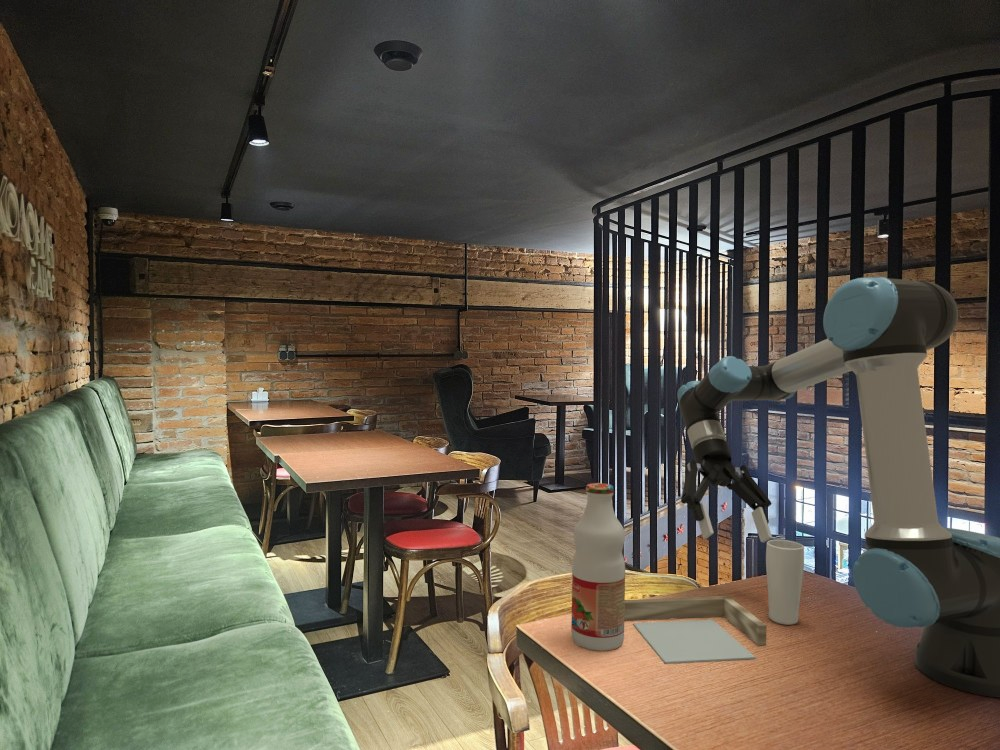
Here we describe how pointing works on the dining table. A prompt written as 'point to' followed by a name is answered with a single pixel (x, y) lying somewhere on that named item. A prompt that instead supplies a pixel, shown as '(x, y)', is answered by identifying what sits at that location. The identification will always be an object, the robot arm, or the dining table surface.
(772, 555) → the drinking glass
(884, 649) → the dining table surface
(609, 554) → the fruit juice
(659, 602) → the birch walls
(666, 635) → the pad
